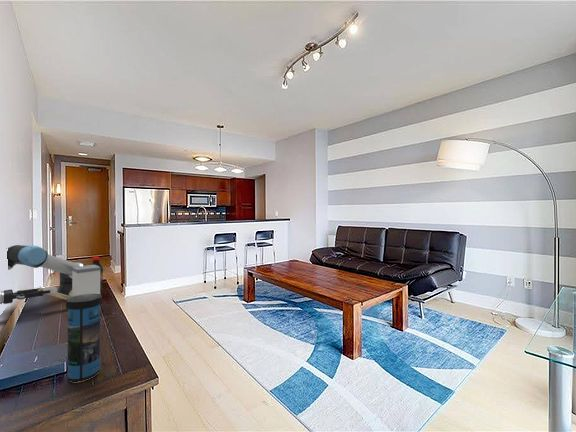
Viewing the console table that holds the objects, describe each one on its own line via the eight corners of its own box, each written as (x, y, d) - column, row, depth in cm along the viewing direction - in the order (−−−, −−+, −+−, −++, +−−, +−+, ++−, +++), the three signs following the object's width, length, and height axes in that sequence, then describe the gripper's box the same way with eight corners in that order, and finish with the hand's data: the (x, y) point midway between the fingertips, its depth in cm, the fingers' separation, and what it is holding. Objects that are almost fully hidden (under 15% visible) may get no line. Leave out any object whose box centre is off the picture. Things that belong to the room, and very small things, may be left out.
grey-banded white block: (72, 312, 177) (72, 267, 176) (94, 307, 186) (94, 264, 185) (76, 317, 169) (77, 269, 168) (100, 312, 178) (100, 267, 177)
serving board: (37, 290, 171) (44, 280, 173) (82, 303, 188) (88, 294, 190) (38, 291, 168) (45, 282, 171) (84, 304, 185) (89, 295, 188)
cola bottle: (105, 297, 208) (105, 256, 207) (96, 300, 199) (97, 257, 199) (95, 296, 209) (95, 255, 208) (85, 300, 200) (85, 257, 200)
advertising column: (108, 369, 114) (108, 294, 114) (84, 386, 103) (84, 303, 103) (84, 366, 116) (84, 292, 116) (57, 382, 105) (57, 301, 104)
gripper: (1, 300, 164) (53, 292, 182) (3, 307, 153) (59, 298, 171) (1, 287, 164) (53, 281, 182) (4, 293, 153) (59, 285, 170)
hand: (56, 289), depth 176 cm, fingers closed on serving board, 4 cm apart
